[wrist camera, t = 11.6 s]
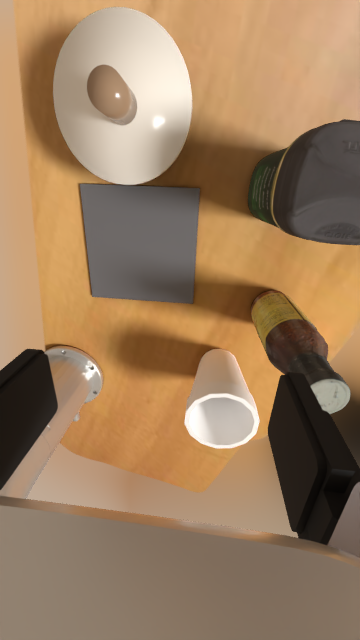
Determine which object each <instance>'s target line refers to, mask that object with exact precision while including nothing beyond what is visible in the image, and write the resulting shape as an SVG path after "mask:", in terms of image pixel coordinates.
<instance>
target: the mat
mask: <svg viewBox="0 0 360 640" xmlns="http://www.w3.org/2000/svg"><path fill="white" fill-rule="evenodd" d="M80 189H81V198H82V207H83V216H84V225H85V234H86V243H87V252H88V261H89V270H90V279H91V288H92V297H104V298H118V299H132V300H146V301H160V302H174V303H188V304H193V294H194V278H195V261H196V245H197V228H198V212H199V195H200V188H180V187H153V186H126V185H99V184H80Z"/></svg>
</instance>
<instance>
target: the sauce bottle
mask: <svg viewBox="0 0 360 640" xmlns="http://www.w3.org/2000/svg"><path fill="white" fill-rule="evenodd" d="M251 313H252V314H251V316H252V321H253V323H254V325H255V328H256V330H257V332H258V335H259V337H260V339H261V342H262V345H263V346H264V349H265V351H266V354H267V356H268V358H269V360H270V362H271V363H272V364H273V365H274V366H275V367H276V368H277V369H279V370H280V371H281V372H282V373H284V374H286V372H297V373H303V374H304V375H305V377H306V379H307V381H308V383H309V385H310V387H311V388H312V390H313V392H314V394H315V396H316V398H317V400H318V402H319V404H320V406H321V407H322V409H323V410H324V411H327V412H328V413H329V414H331V413H334V412H336V411H338V410H340V409H342V408H343V407H344V406H345V405H346V404H347V402H348V401H349V398H350V389H349V387H348V386H347V384H346V382H345V381H344V380H343V378H342V377H341V376H340V375H339V374H337V373H336V372H334V370H333V369H332V368H331V367H330V365H329V363H328V361H327V355H328V345H327V343H326V342H325V339H324V338H323V337H322V336H321V335H320V333H319V332H318V331H317V329H316V327H315V326H314V325H313V324H312V323H311V321H310V320H309V319H308V318H307V317H306V316H305V315H304V313H303V312H302V311H301V310H300V309H299V308H298V307H297V305H296V304H295V303H294V302H293V301H292V300H291V299H290V298H289V297H288V296H287V295H285V294H283V293H282V292H280V291H268V292H264V293H262V294H260V295H259V296H258V297H257V298H256V299H255V300H254V302H253V303H252V306H251Z"/></svg>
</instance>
